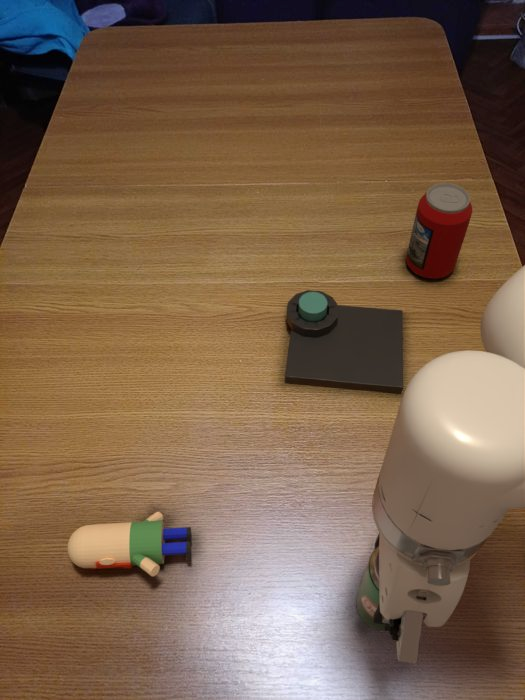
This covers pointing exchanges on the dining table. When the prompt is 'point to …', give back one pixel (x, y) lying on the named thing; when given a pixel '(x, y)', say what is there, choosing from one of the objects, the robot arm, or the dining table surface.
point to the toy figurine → (128, 544)
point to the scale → (346, 347)
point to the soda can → (370, 593)
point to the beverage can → (439, 230)
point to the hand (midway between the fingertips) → (392, 584)
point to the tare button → (312, 306)
